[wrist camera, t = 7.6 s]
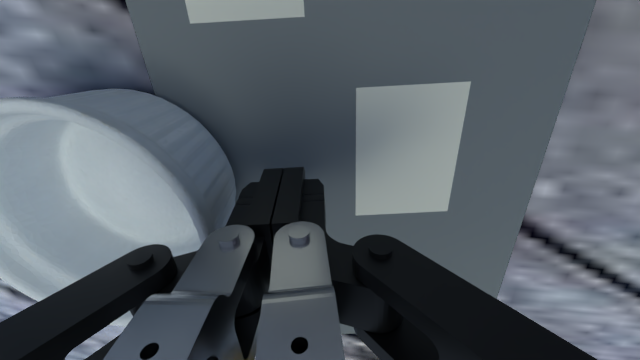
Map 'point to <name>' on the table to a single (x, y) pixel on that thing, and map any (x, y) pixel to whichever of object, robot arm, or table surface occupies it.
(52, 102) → the ramekin
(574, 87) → the table surface
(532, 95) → the label placard
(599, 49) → the table surface
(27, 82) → the table surface
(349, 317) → the robot arm
